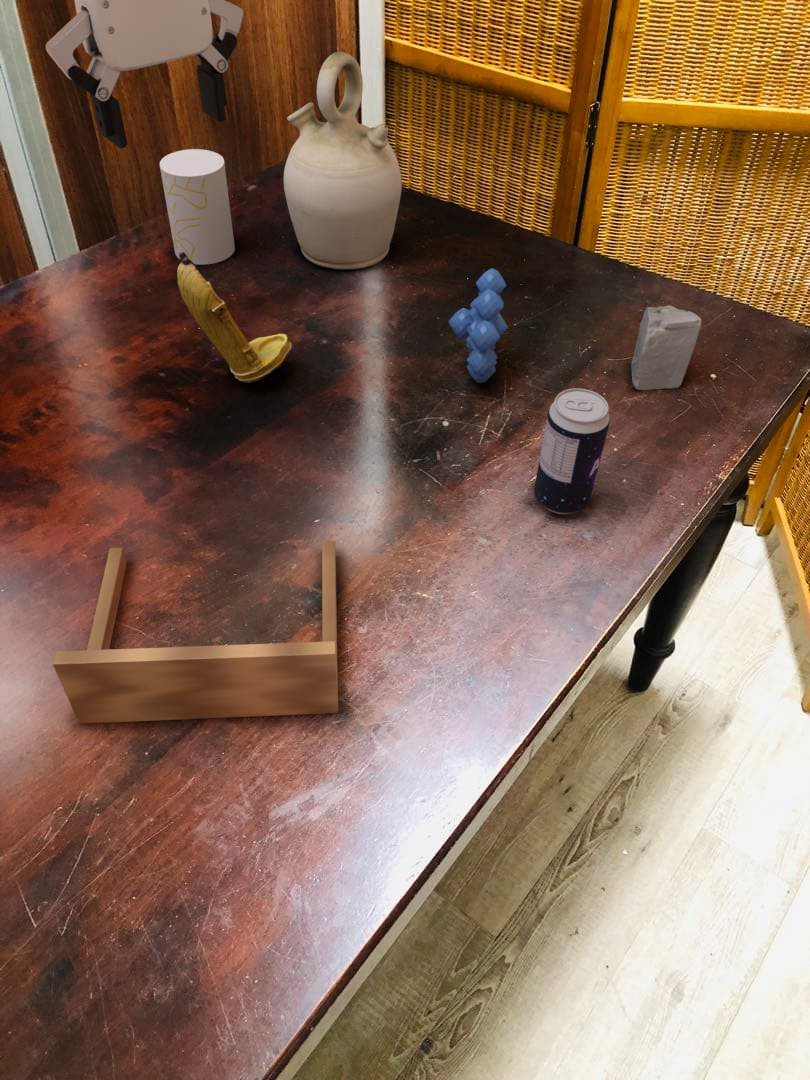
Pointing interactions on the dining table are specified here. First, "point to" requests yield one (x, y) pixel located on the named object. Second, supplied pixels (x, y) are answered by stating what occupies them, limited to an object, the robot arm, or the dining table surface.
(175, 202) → the white upright cylinder
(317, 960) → the dining table surface
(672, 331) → the mineral specimen
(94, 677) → the wooden bench frame
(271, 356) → the shrine
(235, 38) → the robot arm
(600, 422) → the beverage can
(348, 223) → the jug
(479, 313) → the grapes
